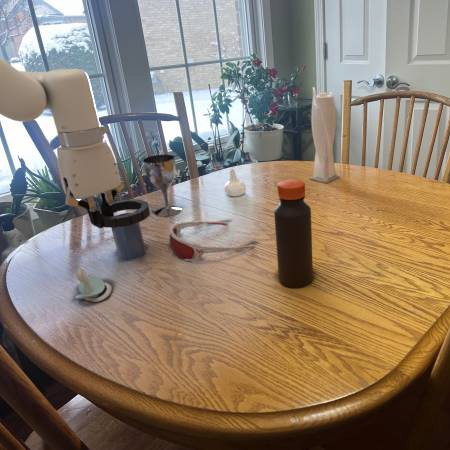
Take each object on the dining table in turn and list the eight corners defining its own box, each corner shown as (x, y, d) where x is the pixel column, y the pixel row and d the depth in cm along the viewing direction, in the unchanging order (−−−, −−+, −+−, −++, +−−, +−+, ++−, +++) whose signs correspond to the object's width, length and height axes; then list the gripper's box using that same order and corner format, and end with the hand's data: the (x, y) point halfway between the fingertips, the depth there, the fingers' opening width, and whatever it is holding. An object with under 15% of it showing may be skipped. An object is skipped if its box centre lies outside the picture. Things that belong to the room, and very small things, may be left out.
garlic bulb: (248, 190, 133) (246, 164, 130) (243, 197, 128) (240, 171, 124) (228, 189, 134) (225, 164, 131) (222, 197, 129) (219, 171, 125)
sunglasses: (159, 240, 104) (159, 220, 102) (225, 233, 113) (226, 215, 111) (183, 271, 90) (184, 249, 89) (256, 260, 99) (258, 239, 98)
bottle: (316, 285, 84) (313, 188, 75) (281, 291, 83) (275, 192, 74) (308, 268, 90) (305, 176, 82) (276, 272, 89) (269, 179, 80)
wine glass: (148, 211, 121) (137, 159, 115) (174, 203, 126) (165, 152, 119) (161, 219, 116) (150, 165, 109) (188, 211, 120) (179, 158, 114)
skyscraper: (306, 178, 141) (302, 88, 129) (321, 172, 147) (319, 85, 135) (326, 183, 136) (325, 90, 124) (341, 176, 142) (342, 86, 130)
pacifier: (113, 283, 88) (81, 288, 86) (107, 255, 85) (74, 260, 84) (110, 303, 82) (75, 308, 80) (103, 274, 79) (67, 279, 77)
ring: (114, 232, 88) (112, 223, 87) (87, 220, 94) (84, 211, 93) (159, 213, 95) (158, 205, 94) (131, 203, 101) (129, 195, 101)
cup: (128, 263, 95) (119, 226, 91) (113, 256, 98) (104, 219, 94) (151, 252, 99) (143, 216, 95) (136, 246, 102) (128, 210, 98)
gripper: (109, 127, 91) (127, 208, 99) (29, 144, 80) (57, 234, 88) (129, 131, 87) (146, 215, 95) (48, 150, 76) (75, 243, 84)
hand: (103, 223), depth 91 cm, fingers closed on ring, 1 cm apart
